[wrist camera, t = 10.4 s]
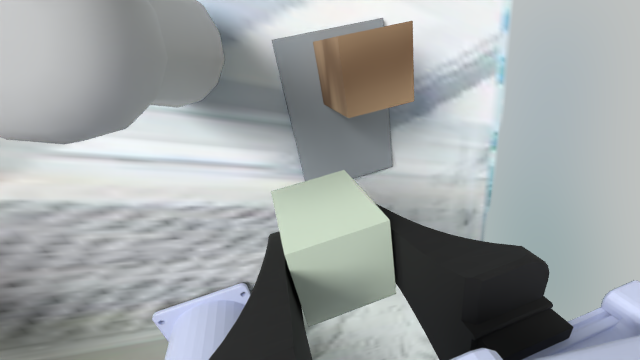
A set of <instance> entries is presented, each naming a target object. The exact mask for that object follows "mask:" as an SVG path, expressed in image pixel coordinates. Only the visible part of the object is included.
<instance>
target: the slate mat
mask: <svg viewBox="0 0 640 360" xmlns="http://www.w3.org/2000/svg"><path fill="white" fill-rule="evenodd" d="M380 27H384V26H383V18H380V19H375V20H370V21H365V22H360V23H355V24H350V25H345V26H340V27H335V28H330V29H325V30H320V31H315V32H310V33H305V34H300V35H295V36H290V37H285V38H280V39H275V40H272V43H273V47H274V52H275V56H276V60H277V64H278V68H279V73H280V77H281V81H282V85H283V90H284V94H285V98H286V102H287V107H288V111H289V115H290V119H291V124H292V128H293V132H294V136H295V141H296V145H297V149H298V153H299V157H300V162H301V166H302V170H303V174H304V179H305V181H308V180H311V179H315V178H318V177H322V176H325V175H328V174H332V173H335V172H339V171H342V170H345V171H346V172H347V173H348V174H349V176H350V177H351V178H356V177H359V176H362V175H366V174H369V173H373V172H376V171H379V170H383V169H386V168H390V167H392V154H391V138H390V122H389V108H386V109H382V110H378V111H375V112H371V113H367V114H363V115H359V116H355V117H351V118H347V117H346V116H344V115H342V114H340V113H338V112H337V111H335V110H333V109H331V108H330V107H328V106H326V105H324V103H323V97H322V91H321V86H320V80H319V74H318V68H317V63H316V57H315V51H314V46H313V42H315V41H319V40H323V39H328V38H332V37H337V36H341V35H346V34H351V33H356V32H361V31H365V30H370V29H375V28H380Z"/></svg>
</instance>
